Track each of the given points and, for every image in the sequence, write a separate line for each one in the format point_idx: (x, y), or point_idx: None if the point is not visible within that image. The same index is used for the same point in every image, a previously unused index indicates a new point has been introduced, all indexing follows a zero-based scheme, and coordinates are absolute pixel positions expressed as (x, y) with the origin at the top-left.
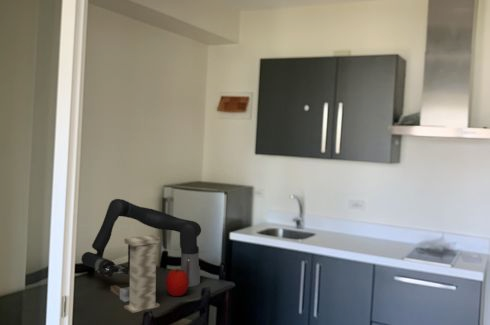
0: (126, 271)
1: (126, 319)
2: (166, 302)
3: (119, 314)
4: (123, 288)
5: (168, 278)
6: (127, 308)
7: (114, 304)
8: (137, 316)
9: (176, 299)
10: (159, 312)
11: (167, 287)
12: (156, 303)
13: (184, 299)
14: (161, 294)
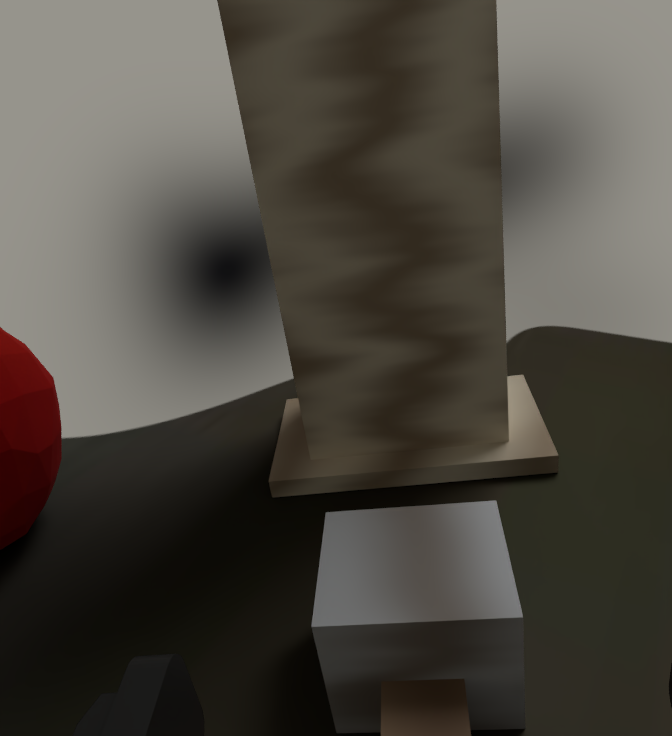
0: (180, 694)
1: (594, 338)
2: (193, 450)
3: (628, 394)
4: (461, 604)
5: (11, 360)
6: (541, 422)
7: (640, 579)
8: (510, 350)
9: (87, 468)
10: None
11: (50, 445)
12: (293, 415)
13: None
14: (32, 615)
